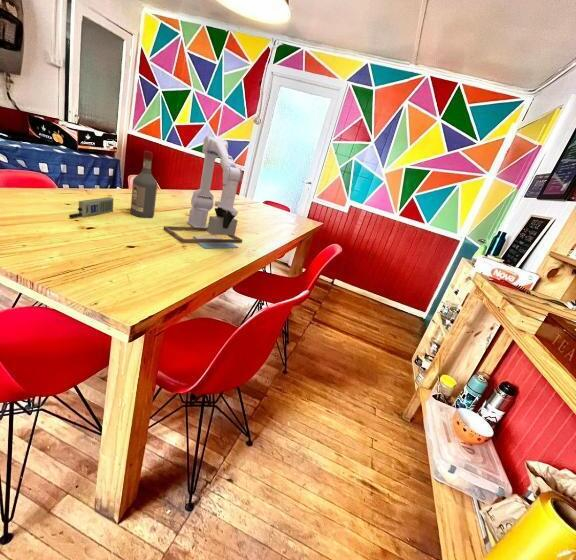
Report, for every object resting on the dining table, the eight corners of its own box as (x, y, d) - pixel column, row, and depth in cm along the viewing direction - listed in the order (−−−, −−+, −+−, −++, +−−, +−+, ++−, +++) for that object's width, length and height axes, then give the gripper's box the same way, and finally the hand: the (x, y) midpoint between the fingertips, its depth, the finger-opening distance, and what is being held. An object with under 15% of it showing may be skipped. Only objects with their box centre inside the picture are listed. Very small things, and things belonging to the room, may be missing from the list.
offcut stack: (192, 238, 146) (192, 235, 145) (220, 239, 156) (221, 236, 156) (196, 242, 143) (197, 238, 142) (225, 242, 153) (226, 239, 153)
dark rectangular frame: (163, 229, 145) (163, 226, 145) (222, 231, 168) (222, 228, 168) (181, 243, 135) (182, 239, 134) (241, 242, 158) (242, 239, 158)
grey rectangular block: (206, 231, 139) (209, 215, 137) (229, 232, 148) (232, 217, 145) (211, 234, 137) (214, 218, 134) (234, 235, 145) (237, 220, 143)
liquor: (145, 212, 163) (151, 151, 152) (156, 218, 159) (163, 155, 148) (128, 212, 155) (133, 147, 145) (138, 218, 151) (145, 152, 141)
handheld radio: (114, 212, 150) (74, 220, 127) (107, 210, 151) (66, 218, 127) (114, 198, 148) (74, 203, 125) (108, 196, 148) (66, 201, 125)
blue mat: (197, 243, 140) (197, 242, 140) (231, 243, 153) (231, 242, 153) (204, 248, 136) (204, 247, 136) (238, 248, 149) (238, 247, 149)
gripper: (211, 190, 138) (205, 220, 143) (230, 199, 129) (224, 231, 134) (224, 192, 143) (219, 221, 148) (244, 201, 134) (237, 232, 139)
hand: (222, 226), depth 141 cm, fingers closed on grey rectangular block, 4 cm apart
